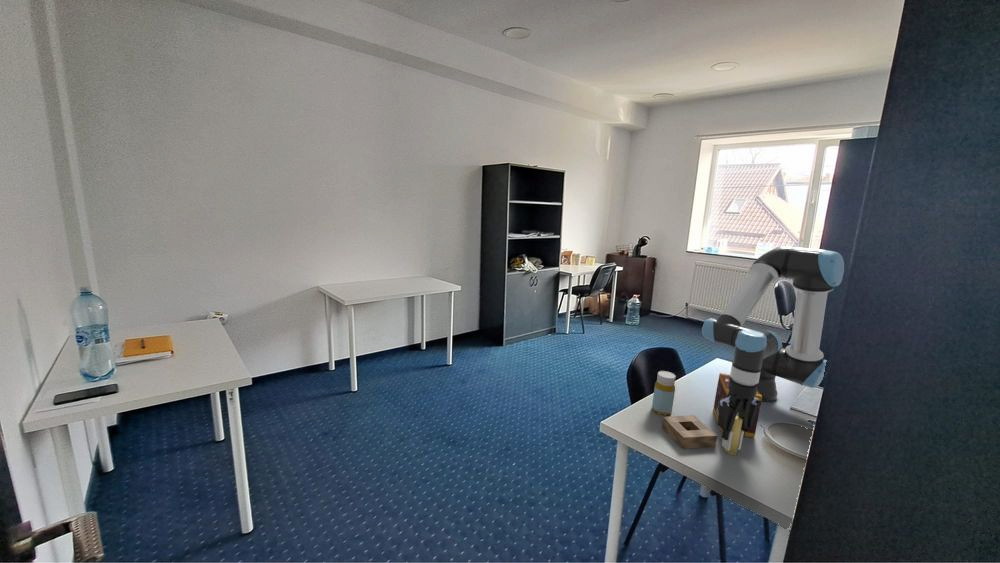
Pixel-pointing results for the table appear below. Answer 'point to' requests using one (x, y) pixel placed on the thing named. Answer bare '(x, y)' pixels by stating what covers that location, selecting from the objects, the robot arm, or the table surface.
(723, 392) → the supplement box
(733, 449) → the peg
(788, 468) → the table surface
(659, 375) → the bottle
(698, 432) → the socket block
